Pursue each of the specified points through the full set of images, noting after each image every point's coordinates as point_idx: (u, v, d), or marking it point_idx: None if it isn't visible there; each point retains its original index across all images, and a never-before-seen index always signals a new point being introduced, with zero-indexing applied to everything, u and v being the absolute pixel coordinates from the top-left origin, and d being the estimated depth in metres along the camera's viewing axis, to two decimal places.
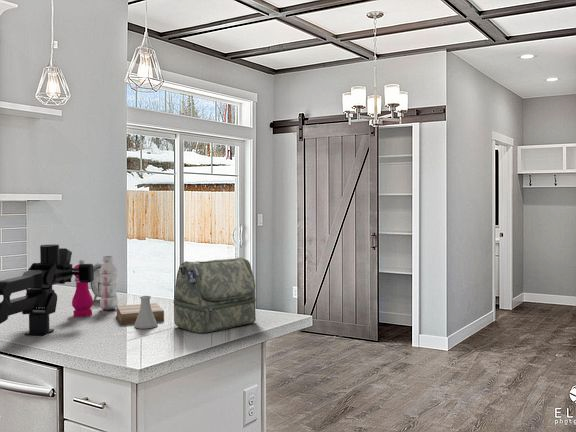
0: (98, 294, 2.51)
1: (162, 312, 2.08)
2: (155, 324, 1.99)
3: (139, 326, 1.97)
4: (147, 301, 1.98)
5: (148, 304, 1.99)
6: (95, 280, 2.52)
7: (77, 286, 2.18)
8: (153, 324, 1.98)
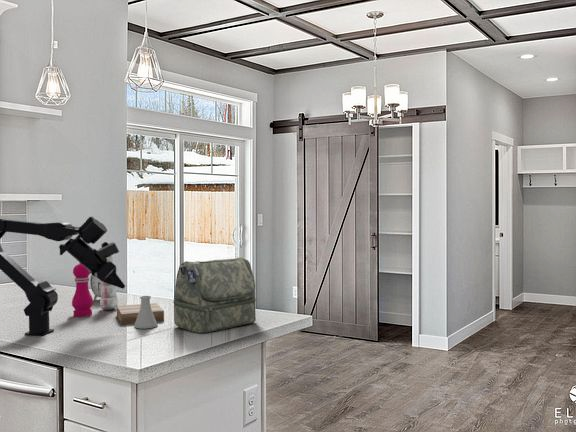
0: (98, 294, 2.51)
1: (162, 312, 2.08)
2: (155, 324, 1.99)
3: (139, 326, 1.97)
4: (147, 301, 1.98)
5: (148, 304, 1.99)
6: (95, 280, 2.52)
7: (77, 286, 2.18)
8: (153, 324, 1.98)
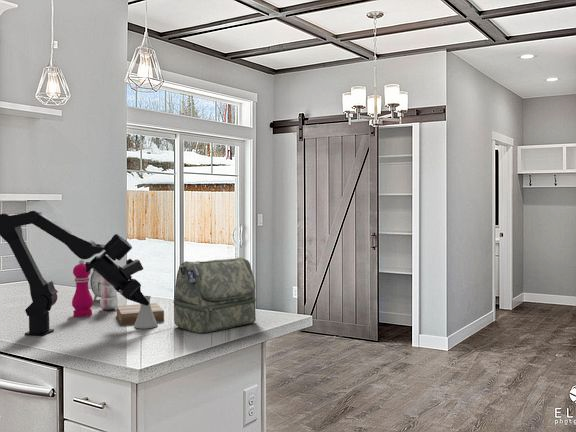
0: (98, 294, 2.51)
1: (162, 312, 2.08)
2: (155, 324, 1.99)
3: (139, 326, 1.97)
4: None
5: None
6: (95, 280, 2.52)
7: (77, 286, 2.18)
8: (153, 324, 1.98)
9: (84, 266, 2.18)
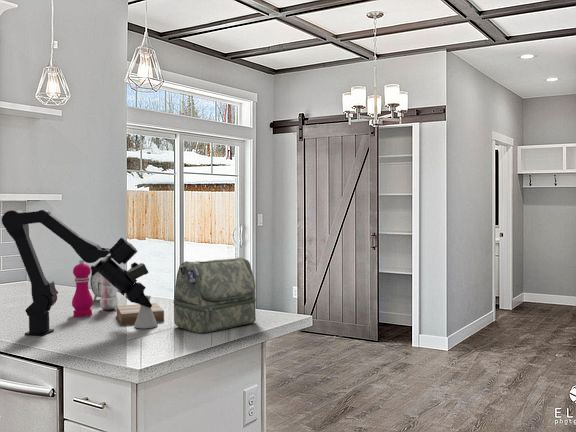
0: (98, 294, 2.51)
1: (162, 312, 2.08)
2: (155, 324, 1.99)
3: (139, 326, 1.97)
4: None
5: None
6: (95, 280, 2.52)
7: (77, 286, 2.18)
8: (153, 324, 1.98)
9: (84, 266, 2.18)
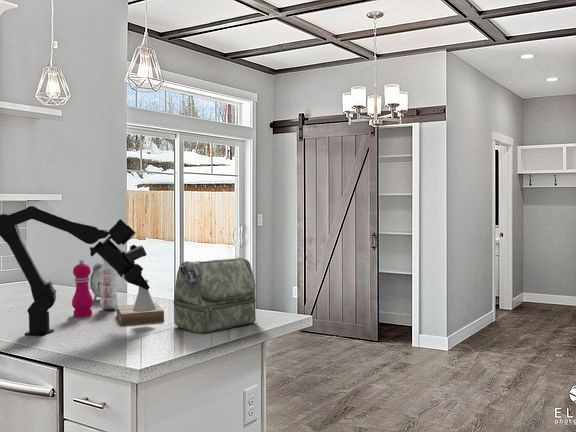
0: (98, 294, 2.51)
1: (162, 312, 2.08)
2: (153, 307, 2.01)
3: (137, 309, 1.99)
4: None
5: None
6: (95, 280, 2.52)
7: (77, 286, 2.18)
8: (151, 307, 2.00)
9: (84, 266, 2.18)
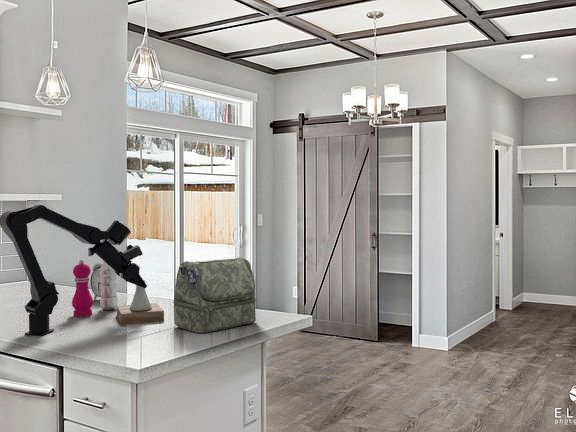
0: (98, 294, 2.51)
1: (162, 312, 2.08)
2: (149, 307, 2.10)
3: (134, 308, 2.08)
4: None
5: (143, 288, 2.10)
6: (95, 280, 2.52)
7: (77, 286, 2.18)
8: (147, 307, 2.09)
9: (84, 266, 2.18)
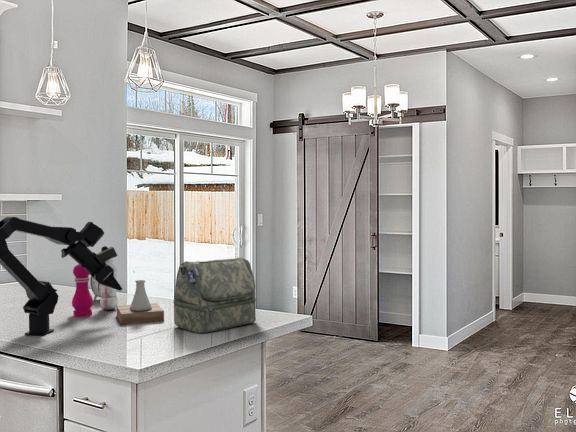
0: (98, 294, 2.51)
1: (162, 312, 2.08)
2: (149, 307, 2.10)
3: (134, 308, 2.08)
4: (142, 285, 2.10)
5: (143, 288, 2.10)
6: (95, 280, 2.52)
7: (77, 286, 2.18)
8: (147, 306, 2.09)
9: None
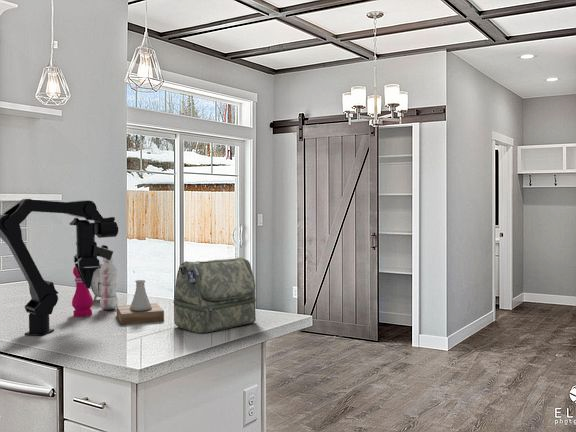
0: (98, 294, 2.51)
1: (162, 312, 2.08)
2: (149, 307, 2.10)
3: (134, 308, 2.08)
4: (142, 285, 2.10)
5: (143, 288, 2.10)
6: (95, 280, 2.52)
7: (77, 286, 2.18)
8: (147, 307, 2.09)
9: None
